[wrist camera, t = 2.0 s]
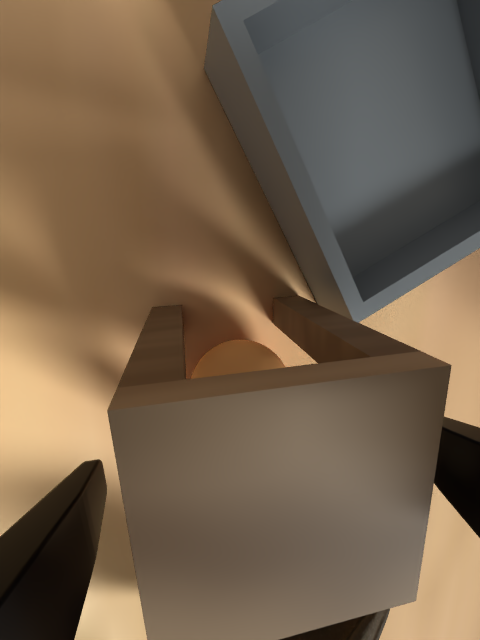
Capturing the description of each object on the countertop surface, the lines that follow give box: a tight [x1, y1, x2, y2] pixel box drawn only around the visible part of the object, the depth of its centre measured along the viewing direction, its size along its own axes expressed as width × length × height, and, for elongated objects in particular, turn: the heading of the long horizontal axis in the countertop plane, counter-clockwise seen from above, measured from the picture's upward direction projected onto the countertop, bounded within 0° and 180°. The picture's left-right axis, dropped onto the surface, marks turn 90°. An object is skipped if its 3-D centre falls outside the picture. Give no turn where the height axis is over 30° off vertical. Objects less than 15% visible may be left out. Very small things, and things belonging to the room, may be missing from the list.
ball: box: [191, 340, 285, 379], centre depth 12 cm, size 4×4×4 cm
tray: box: [204, 0, 480, 323], centre depth 11 cm, size 10×10×3 cm
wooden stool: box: [107, 296, 451, 640], centre depth 10 cm, size 6×6×8 cm
